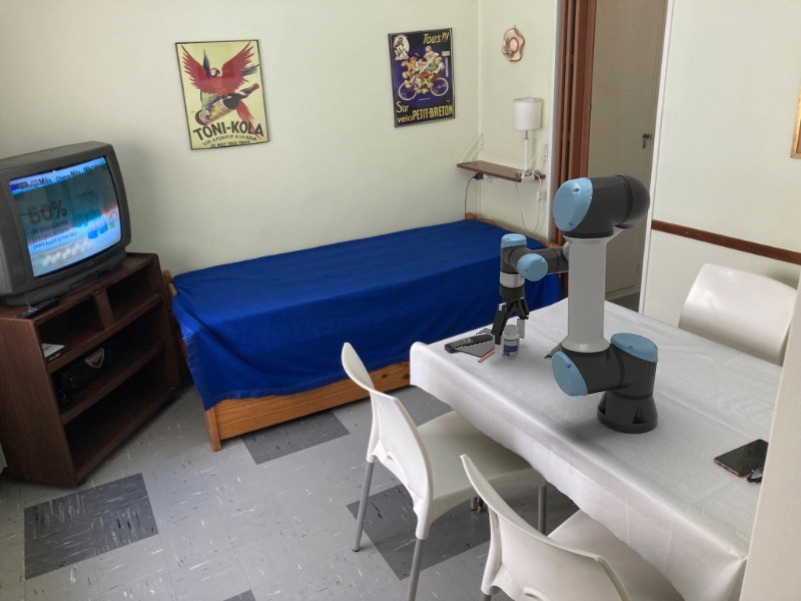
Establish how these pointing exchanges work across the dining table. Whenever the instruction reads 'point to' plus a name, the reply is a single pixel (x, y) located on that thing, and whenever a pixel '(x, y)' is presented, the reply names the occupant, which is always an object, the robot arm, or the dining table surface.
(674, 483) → the dining table surface
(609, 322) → the dining table surface
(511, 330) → the pill bottle
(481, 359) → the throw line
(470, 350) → the mat
